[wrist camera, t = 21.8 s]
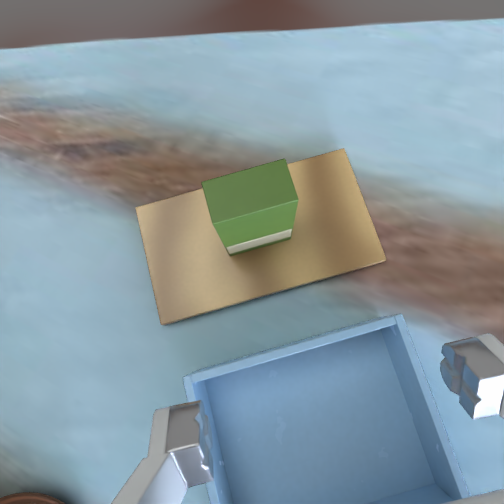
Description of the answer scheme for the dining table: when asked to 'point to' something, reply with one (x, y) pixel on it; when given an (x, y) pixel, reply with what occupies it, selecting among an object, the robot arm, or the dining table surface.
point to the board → (262, 259)
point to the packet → (252, 206)
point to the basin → (328, 423)
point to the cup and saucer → (29, 499)
